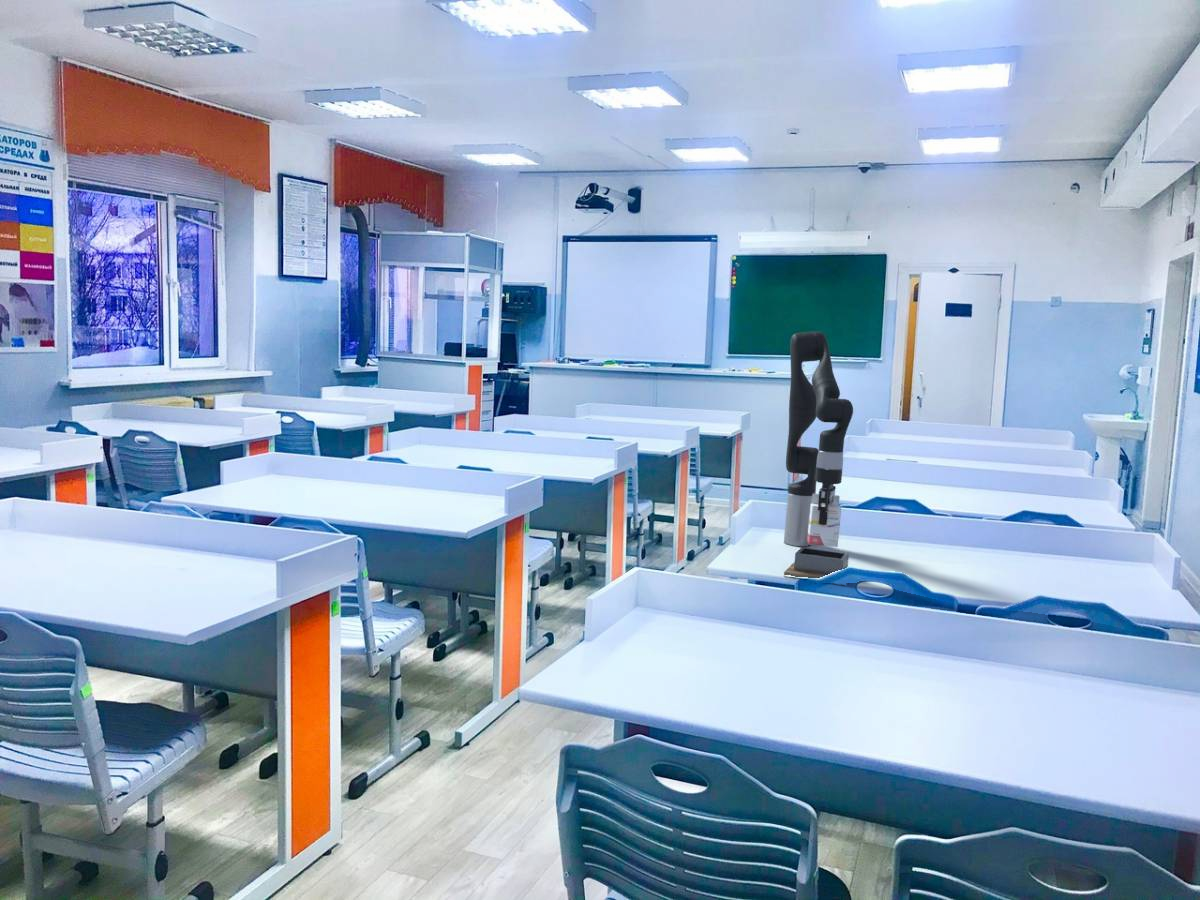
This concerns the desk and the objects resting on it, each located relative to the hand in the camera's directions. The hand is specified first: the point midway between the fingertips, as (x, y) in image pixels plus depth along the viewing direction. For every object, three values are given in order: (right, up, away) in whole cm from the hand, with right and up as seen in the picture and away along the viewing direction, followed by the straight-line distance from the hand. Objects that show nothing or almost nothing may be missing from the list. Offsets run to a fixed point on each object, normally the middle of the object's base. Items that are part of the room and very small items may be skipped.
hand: (824, 522), depth 287 cm
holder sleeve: (-1, -14, +2) cm, 14 cm away
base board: (-1, -16, +2) cm, 16 cm away
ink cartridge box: (0, -7, +1) cm, 7 cm away
